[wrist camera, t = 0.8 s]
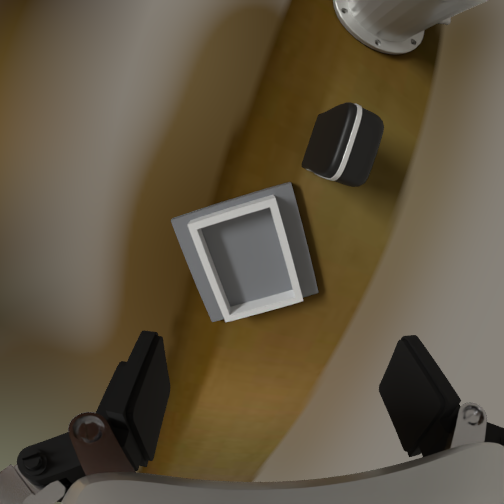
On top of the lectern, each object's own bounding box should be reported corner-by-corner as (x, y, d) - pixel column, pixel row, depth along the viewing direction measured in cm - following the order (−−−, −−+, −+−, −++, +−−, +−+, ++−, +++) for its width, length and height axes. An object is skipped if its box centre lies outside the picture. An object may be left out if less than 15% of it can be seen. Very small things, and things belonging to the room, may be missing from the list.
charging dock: (289, 181, 32) (294, 185, 29) (316, 289, 37) (322, 300, 34) (172, 218, 33) (166, 225, 31) (212, 317, 38) (210, 330, 35)
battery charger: (329, 179, 32) (369, 196, 22) (299, 168, 32) (326, 179, 21) (348, 124, 30) (395, 116, 19) (318, 111, 30) (354, 96, 19)
